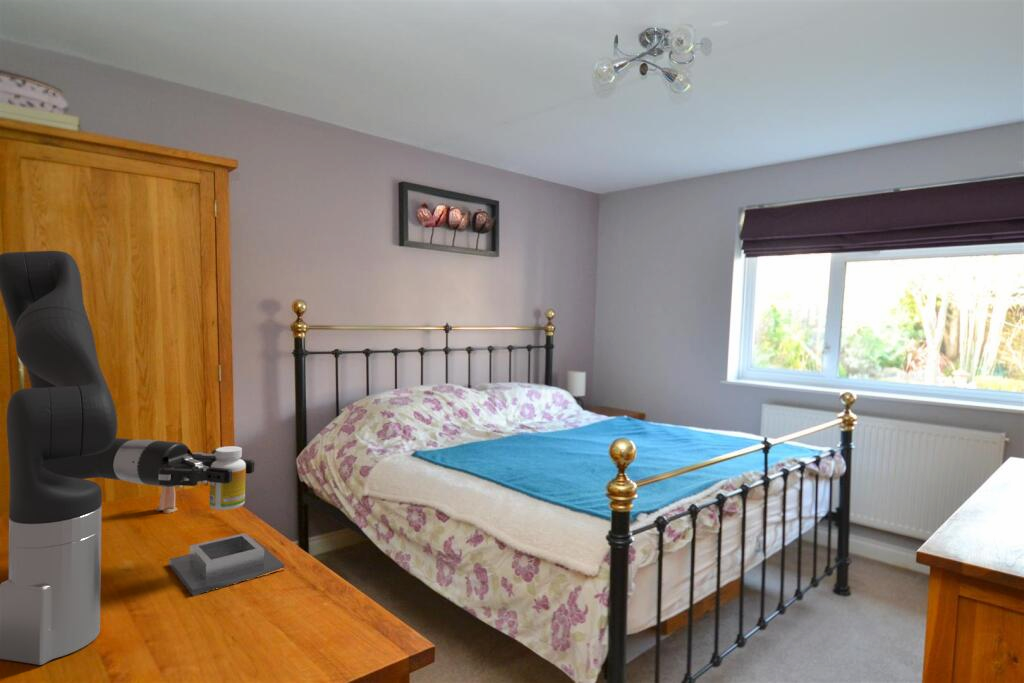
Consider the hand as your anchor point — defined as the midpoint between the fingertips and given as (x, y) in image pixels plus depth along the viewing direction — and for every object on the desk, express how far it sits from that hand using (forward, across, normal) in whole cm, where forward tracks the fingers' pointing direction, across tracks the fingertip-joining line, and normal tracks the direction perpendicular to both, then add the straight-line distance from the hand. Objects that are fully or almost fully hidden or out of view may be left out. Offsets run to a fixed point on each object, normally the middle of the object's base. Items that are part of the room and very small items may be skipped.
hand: (242, 471), depth 94 cm
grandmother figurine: (-31, +21, +17) cm, 41 cm away
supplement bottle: (-3, 0, +6) cm, 7 cm away
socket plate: (-2, 0, +17) cm, 17 cm away
